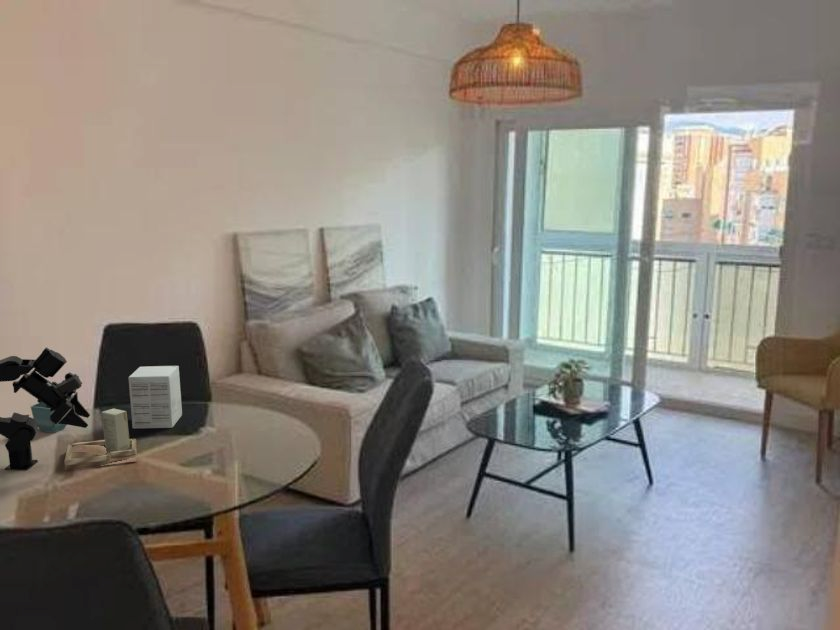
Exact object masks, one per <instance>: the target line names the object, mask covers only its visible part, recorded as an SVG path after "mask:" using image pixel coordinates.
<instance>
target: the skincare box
mask: <svg viewBox="0 0 840 630" xmlns="http://www.w3.org/2000/svg"><path fill="white" fill-rule="evenodd" d="M101 419H102V429H103V437H104V439H103V440H105V448H106V451H107V452H113V451H121V450H130V441H129V439H130V433H129V423H128V422H129V421H128V414H127V411H126V410H123V409H117V408H111V409H106V410H103V411H101Z"/></svg>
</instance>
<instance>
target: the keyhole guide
mask: <svg viewBox="0 0 840 630" xmlns="http://www.w3.org/2000/svg"><path fill="white" fill-rule="evenodd" d="M129 441H130V450H121V451H113V452H107V453H106V454H105V455H97V454H96V455H95V454H92V453H87V452H72V447H74V446H77V445H100V446H104V447H105V439H99V440H93V441H92V440H91V441H84V442H83V441H81V442H73V443H68V446H67V448H66V449H67V450H66V453H65V457H64V462H63V463H64V471H65V472H67V471H74V470H75V471H76V470H84V469H92V468H98V467H97V466H101V465H105V464H108V463H112V462H117V461H122V460H127V459H129V458H135V457H136V456H137V457H138V439H136V438H129ZM101 467H102V466H101Z"/></svg>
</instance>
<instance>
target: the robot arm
mask: <svg viewBox="0 0 840 630" xmlns="http://www.w3.org/2000/svg"><path fill="white" fill-rule="evenodd" d="M66 363H68V361H67V360H66V358H65V356H63V355H62V354H60V353H59V352H57V351H54V350H53V349H50V348H48V347H45V348H44V349H43V350H42V352H41V353H40V354H39V355H38V357H37V358H36V359H29V358H26V359H25V358H20V357H18V356H16V355H10V356H8V357H5V358H2V359H0V383H1V382H12V383H11V384H12V386H13V393H14V394H17V392H19V390H20V389H23V391H25V392H26V393H28V394H29V395H31V396H32V397H34V398H35V399H37V400H36V402H37V403H41V402H42V403H44V404H45V405H47V406H48V407H50V411H52V412H51V414H50V420H51V421H52V422H53V423H55V424H57V423H58V424H66V426H74V427H77V428H82V429H83V428H84V429H87V427H88V426H89V424H88V423H87V422H86V420H84V419H83V418H82V417H84V418H87V419H89V418H90V416H91V414H90V412H88V411H87V409H86V408H85V407H84V406H83V404H82V403H81V402H80V400H79V397H78V395H79V393H78V391H77V390H79V389H80V388H81V387H82V384H83V382H82V380H81V379H80V376H79V375H77V374H76V373H71V372H70V371H69V372H68V373H66V374H65V375H64V380H61V382H57V381H52V382H51V381H50V380H48V379H47V378H54V377H55V375H57V373H58V372H59V371H60V370H61V369H62V368H63V367H64V366H65V365H66ZM19 378H20V379H19ZM38 429H39V428H38V424H37V422H36V421H35V419H33V417H31V416H30V414H20V413H19V412H13V413H12V415H11V416H9V417H1V416H0V435H1V436H2V437H4V438H6V439H7V440H6V442H5V445H4V447H5V448H6V449H5V450H6V451H7V453H8V462H9V464H8V465H7V466H5V468H4V470H5V471H28V470H29V469H31V467H33V466H34V465H36V464H37V463H39V460H38V459H33V452H32V451H33V450H32V443H31V442H32V441H33V439H35V436H36V435H37V431H38Z"/></svg>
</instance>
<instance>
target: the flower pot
mask: <svg viewBox="0 0 840 630" xmlns="http://www.w3.org/2000/svg"><path fill="white" fill-rule="evenodd" d="M30 411H31V415H32V418H33V419H35V421H36V422H37V424H38V429H39V430H40V431H41V432H44V433H45V432H47V433H52V434H53V433H54V432H55V433H56V432H59V431H61V430H63V429H65V428H66V427H67V425H66V424H58V423H57V424H55V423H53V422H52V421H51V420H50V414H51V412H52V411H50V407H48V406H47V405H45V404H44V403H42V402H41V403H39V402H37V403H35V404H33V405H31V406H30Z"/></svg>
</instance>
